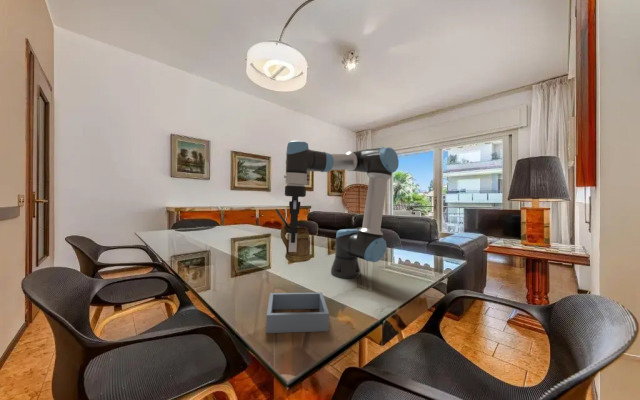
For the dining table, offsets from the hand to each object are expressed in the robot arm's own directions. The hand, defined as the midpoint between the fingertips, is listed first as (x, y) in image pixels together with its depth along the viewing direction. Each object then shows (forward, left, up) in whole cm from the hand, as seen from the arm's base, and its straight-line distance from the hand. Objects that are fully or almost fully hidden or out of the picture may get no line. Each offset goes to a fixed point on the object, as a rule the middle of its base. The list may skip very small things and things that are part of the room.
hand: (292, 248), depth 90 cm
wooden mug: (0, 0, -4) cm, 4 cm away
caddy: (-2, +8, -22) cm, 23 cm away
